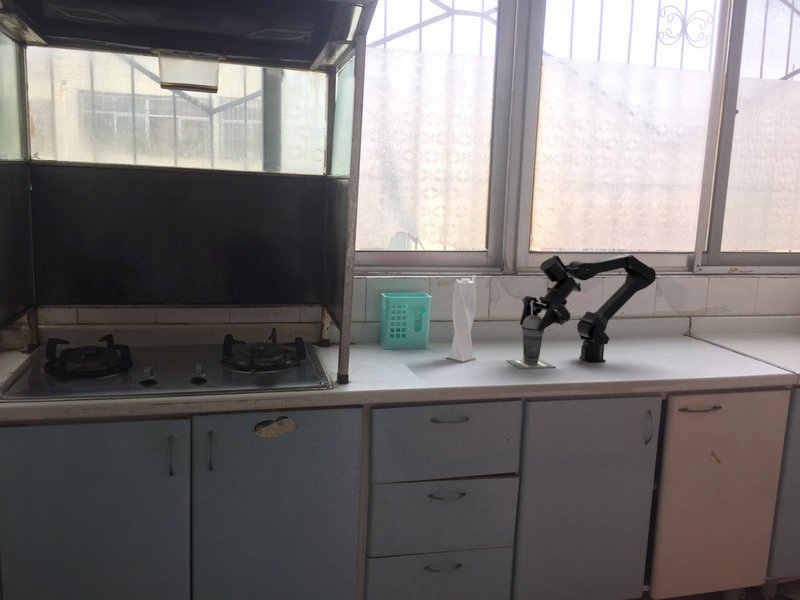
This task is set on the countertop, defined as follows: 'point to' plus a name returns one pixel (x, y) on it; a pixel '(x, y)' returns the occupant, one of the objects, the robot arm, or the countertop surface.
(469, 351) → the skyscraper
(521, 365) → the letter card
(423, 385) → the countertop surface
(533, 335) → the beverage cup
